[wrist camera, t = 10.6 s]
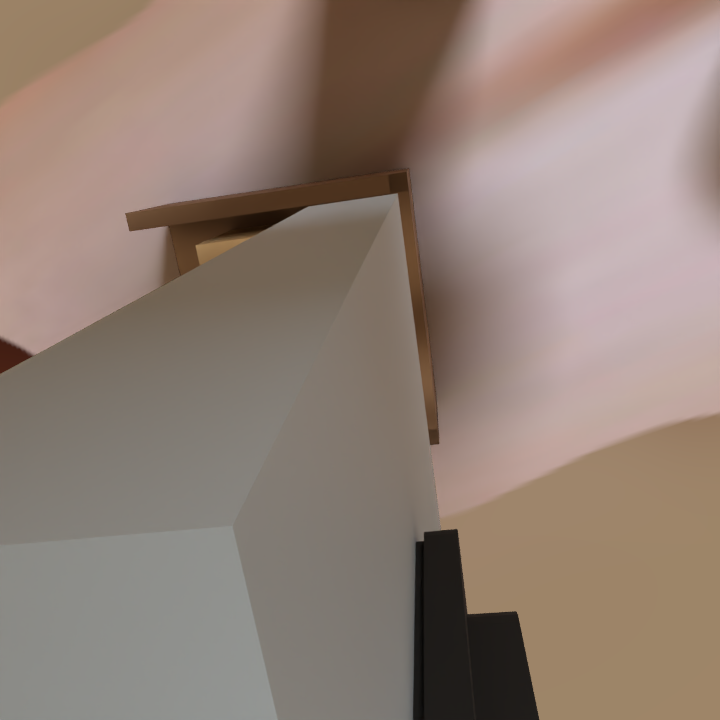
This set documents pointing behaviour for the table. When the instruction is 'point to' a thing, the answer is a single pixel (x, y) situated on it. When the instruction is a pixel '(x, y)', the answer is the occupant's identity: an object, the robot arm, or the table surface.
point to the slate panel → (224, 490)
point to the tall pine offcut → (225, 242)
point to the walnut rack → (277, 204)
